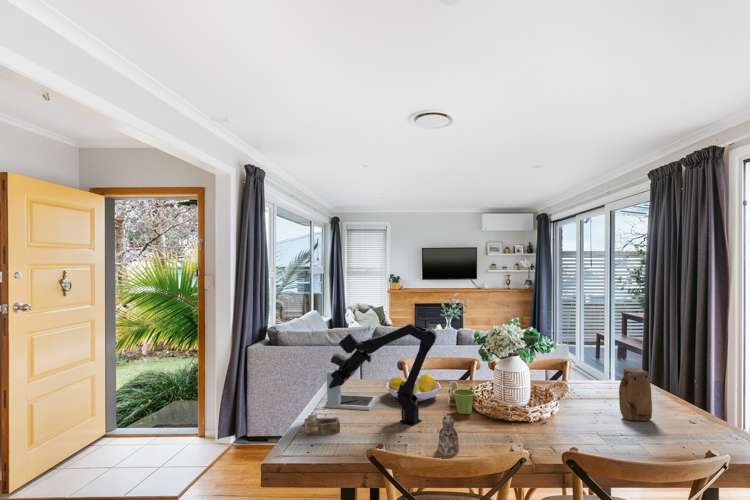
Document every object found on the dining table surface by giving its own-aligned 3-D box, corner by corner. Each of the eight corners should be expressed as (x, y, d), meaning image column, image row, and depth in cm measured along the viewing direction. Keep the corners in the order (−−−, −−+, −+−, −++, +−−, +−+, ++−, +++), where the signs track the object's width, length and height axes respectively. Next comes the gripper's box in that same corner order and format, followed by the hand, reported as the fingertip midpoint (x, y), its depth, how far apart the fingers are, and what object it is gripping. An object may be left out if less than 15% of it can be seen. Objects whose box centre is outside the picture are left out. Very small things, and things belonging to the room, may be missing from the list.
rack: (337, 426, 165) (337, 417, 165) (340, 432, 159) (339, 423, 159) (304, 429, 162) (304, 420, 162) (305, 435, 156) (305, 426, 156)
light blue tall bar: (340, 402, 177) (340, 371, 177) (338, 405, 174) (337, 373, 174) (329, 402, 178) (329, 370, 179) (327, 404, 175) (326, 372, 176)
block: (641, 414, 173) (639, 366, 174) (655, 421, 165) (653, 371, 166) (617, 416, 172) (615, 367, 173) (630, 422, 164) (628, 372, 165)
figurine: (436, 453, 140) (435, 417, 141) (440, 444, 147) (439, 410, 147) (457, 456, 138) (456, 420, 138) (460, 447, 144) (460, 413, 145)
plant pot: (466, 417, 172) (466, 396, 172) (449, 412, 179) (448, 392, 179) (479, 412, 178) (479, 392, 179) (462, 407, 185) (461, 387, 186)
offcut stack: (317, 425, 163) (316, 413, 163) (318, 431, 157) (318, 418, 157) (304, 427, 162) (304, 414, 162) (305, 432, 156) (305, 420, 156)
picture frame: (325, 409, 187) (370, 412, 182) (325, 402, 187) (369, 405, 183) (336, 398, 202) (377, 400, 198) (336, 392, 202) (377, 394, 198)
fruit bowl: (394, 387, 217) (394, 365, 217) (445, 391, 208) (445, 369, 208) (376, 404, 190) (376, 379, 191) (434, 410, 181) (434, 384, 182)
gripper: (348, 343, 185) (325, 367, 187) (335, 352, 167) (310, 378, 169) (365, 361, 183) (342, 385, 185) (354, 372, 165) (328, 398, 167)
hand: (330, 386), depth 177 cm, fingers closed on light blue tall bar, 3 cm apart
